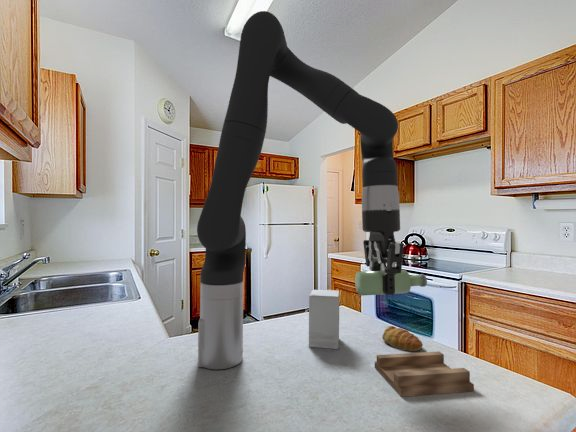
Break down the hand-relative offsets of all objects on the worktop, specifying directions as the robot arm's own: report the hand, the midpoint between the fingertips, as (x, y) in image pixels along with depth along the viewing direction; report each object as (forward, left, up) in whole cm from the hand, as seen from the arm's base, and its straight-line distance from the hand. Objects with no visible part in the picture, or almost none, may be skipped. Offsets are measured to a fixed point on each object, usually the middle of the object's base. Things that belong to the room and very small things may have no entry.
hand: (382, 290), depth 64 cm
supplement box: (-8, +16, -16) cm, 24 cm away
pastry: (+11, +13, -17) cm, 24 cm away
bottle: (+2, 0, -1) cm, 2 cm away
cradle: (+6, -4, -16) cm, 18 cm away
